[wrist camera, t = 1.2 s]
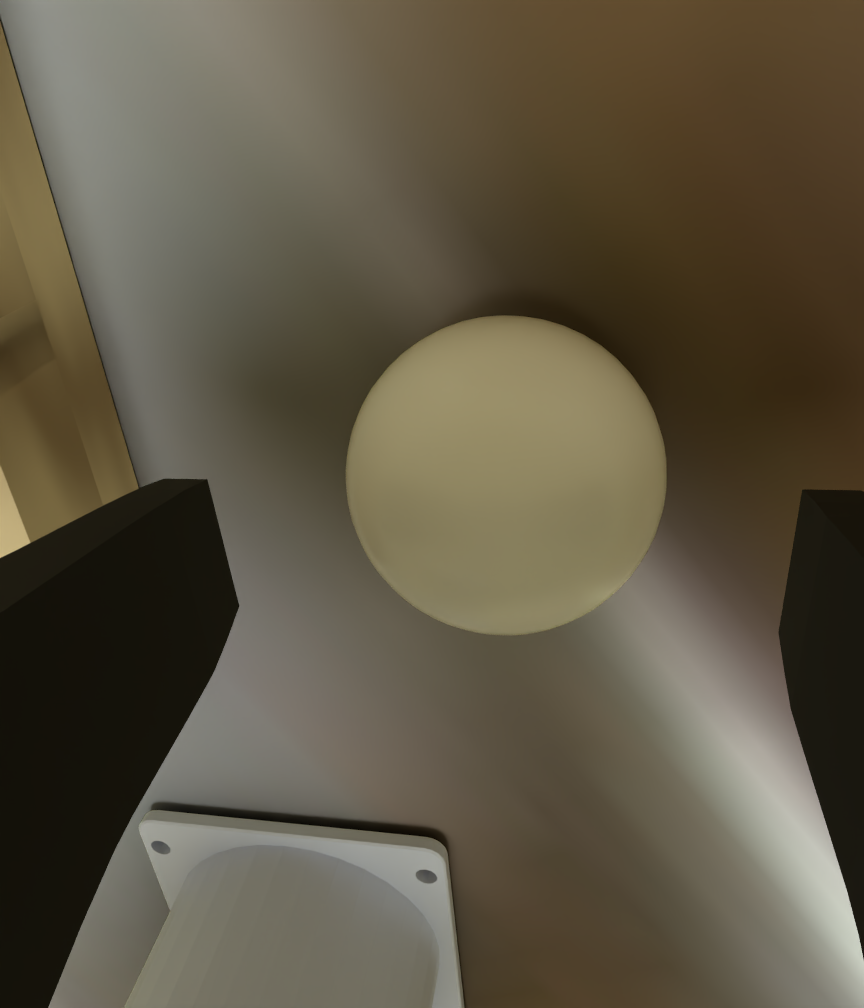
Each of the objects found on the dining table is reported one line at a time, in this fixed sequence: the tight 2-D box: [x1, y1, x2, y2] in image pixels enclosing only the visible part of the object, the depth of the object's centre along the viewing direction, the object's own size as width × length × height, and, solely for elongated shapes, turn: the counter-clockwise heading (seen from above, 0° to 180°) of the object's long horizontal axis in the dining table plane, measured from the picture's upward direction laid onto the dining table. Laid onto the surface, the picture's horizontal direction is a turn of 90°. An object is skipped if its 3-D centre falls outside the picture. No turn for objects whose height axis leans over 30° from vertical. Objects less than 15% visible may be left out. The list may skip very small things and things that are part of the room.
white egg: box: [346, 315, 667, 635], centre depth 12 cm, size 5×5×5 cm
